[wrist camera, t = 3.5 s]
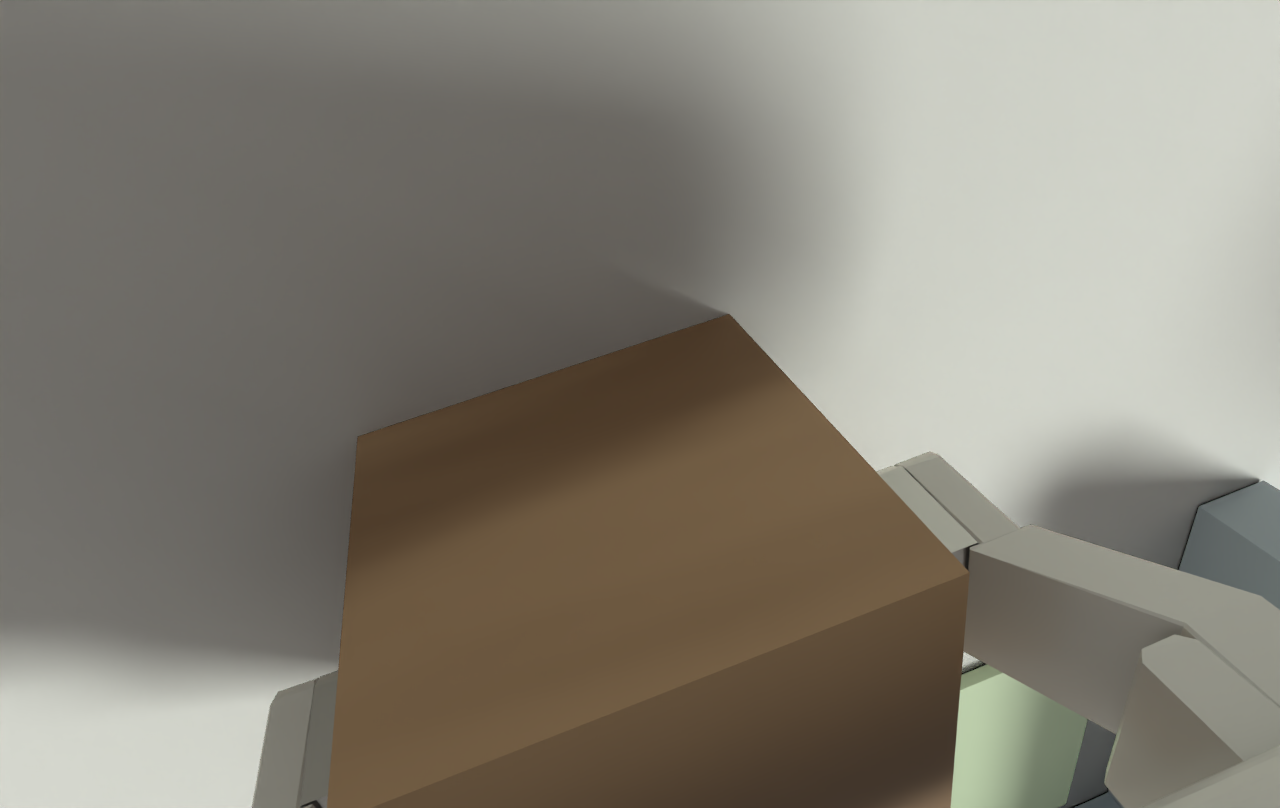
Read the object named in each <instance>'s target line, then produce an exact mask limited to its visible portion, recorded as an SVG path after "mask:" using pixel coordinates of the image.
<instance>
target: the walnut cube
mask: <svg viewBox="0 0 1280 808" xmlns="http://www.w3.org/2000/svg"><path fill="white" fill-rule="evenodd" d="M969 575H970V572H969V571H968V570H967V569H966V568H965V567H964V566H963V565H962V564H961V563H960V562H959V561H958V559H957V558H956V557H955V556H954V555H953V554H952V553H951V552H950V551H949V550H948V549H947V548H946V547H945V545H944V544H943V543H942V542H941V541H940V540H939V539H938V538H937V537H936V536H935V535H934V534H933V533H932V531H931V530H930V529H929V528H928V527H927V526H926V525H925V524H924V523H923V522H922V521H921V520H920V519H919V518H918V516H917V515H916V514H915V513H914V512H913V511H912V510H911V509H910V508H909V507H908V506H907V505H906V504H905V502H904V501H903V500H902V499H901V498H900V497H899V496H898V495H897V494H896V493H895V492H894V491H893V490H892V488H891V487H890V486H889V485H888V484H887V483H886V482H885V481H884V480H883V479H882V478H881V477H880V476H879V474H878V473H877V472H876V471H875V470H874V469H873V468H872V467H871V466H870V465H869V464H868V463H867V462H866V461H865V459H864V458H863V457H862V456H861V455H860V454H859V453H858V452H857V451H856V450H855V449H854V448H853V447H852V445H851V444H850V443H849V442H848V441H847V440H846V439H845V438H844V437H843V436H842V435H841V434H840V433H839V431H838V430H837V429H836V428H835V427H834V426H833V425H832V424H831V423H830V422H829V421H828V420H827V419H826V417H825V416H824V415H823V414H822V413H821V412H820V411H819V410H818V409H817V408H816V407H815V406H814V405H813V403H812V402H811V401H810V400H809V399H808V398H807V397H806V396H805V395H804V394H803V393H802V392H801V391H800V390H799V388H798V387H797V386H796V385H795V384H794V383H793V382H792V381H791V380H790V379H789V378H788V377H787V376H786V374H785V373H784V372H783V371H782V370H781V369H780V368H779V367H778V366H777V365H776V364H775V363H774V362H773V360H772V359H771V358H770V357H769V356H768V355H767V354H766V353H765V352H764V351H763V350H762V349H761V348H760V346H759V345H758V344H757V343H756V342H755V341H754V340H753V339H752V338H751V337H750V336H749V335H748V334H747V333H746V331H745V330H744V329H743V328H742V327H741V326H740V325H739V324H738V323H737V322H736V321H735V320H734V319H733V317H732V316H731V315H730V314H728V315H725V316H722V317H719V318H716V319H713V320H710V321H707V322H704V323H701V324H697V325H694V326H691V327H688V328H685V329H682V330H679V331H676V332H673V333H670V334H667V335H664V336H661V337H658V338H655V339H652V340H649V341H646V342H643V343H640V344H637V345H634V346H631V347H628V348H625V349H622V350H619V351H616V352H613V353H610V354H607V355H604V356H600V357H597V358H594V359H591V360H588V361H585V362H582V363H579V364H576V365H573V366H570V367H567V368H564V369H561V370H558V371H555V372H552V373H549V374H546V375H543V376H540V377H537V378H534V379H531V380H528V381H525V382H522V383H519V384H516V385H513V386H510V387H507V388H503V389H500V390H497V391H494V392H491V393H488V394H485V395H482V396H479V397H476V398H473V399H470V400H467V401H464V402H461V403H458V404H455V405H452V406H449V407H446V408H443V409H440V410H437V411H434V412H431V413H428V414H425V415H422V416H419V417H416V418H413V419H410V420H406V421H403V422H400V423H397V424H394V425H391V426H388V427H385V428H382V429H379V430H376V431H373V432H370V433H367V434H364V435H361V436H358V439H357V451H356V463H355V475H354V487H353V499H352V511H351V523H350V535H349V547H348V559H347V571H346V584H345V596H344V608H343V620H342V632H341V644H340V656H339V668H338V680H337V692H336V704H335V716H334V728H333V740H332V752H331V764H330V776H329V788H328V800H327V808H951V796H952V784H953V772H954V759H955V747H956V735H957V722H958V710H959V698H960V686H961V673H962V661H963V649H964V636H965V624H966V612H967V600H968V587H969Z"/></svg>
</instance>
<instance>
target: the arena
mask: <svg viewBox="0 0 1280 808" xmlns="http://www.w3.org/2000/svg"><path fill="white" fill-rule="evenodd" d="M1179 571H1183V572H1186V573H1189V574H1192V575H1195V576H1199V577H1202V578H1205V579H1208V580H1212V581H1215V582H1218V583H1221V584H1224V585H1228V586H1231V587H1234V588H1237V589H1240V590H1244V591H1247V592H1250V593H1253V594H1257V595H1260V596H1262V597H1263V598H1264V599H1266V600H1267V601H1268V602H1270V603H1271V604H1273V605H1274V606H1275V607H1277V608H1278V609H1279V610H1280V490H1278V489H1277V488H1275V487H1273V486H1272V485H1270V484H1268V483H1267V482H1265V481H1261V482H1259V483H1256V484H1254V485H1251V486H1249V487H1246V488H1244V489H1241V490H1239V491H1236V492H1234V493H1231V494H1229V495H1226V496H1224V497H1221V498H1219V499H1216V500H1213V501H1211V502H1208V503H1206V504H1203V505H1201V506H1199V508H1198V511H1197V514H1196V517H1195V520H1194V524H1193V527H1192V530H1191V533H1190V536H1189V539H1188V542H1187V546H1186V549H1185V552H1184V555H1183V558H1182V561H1181V564H1180V567H1179ZM1087 721H1088V719H1086V718H1085V717H1083V716H1081V715H1079V714H1077V713H1075V712H1074V711H1072V710H1070V709H1068V708H1066V707H1064V706H1063V705H1061V704H1059V703H1057V702H1055V701H1053V700H1052V699H1050V698H1048V697H1046V696H1044V695H1042V694H1041V693H1039V692H1037V691H1035V690H1033V689H1032V688H1030V687H1028V686H1026V685H1024V684H1022V683H1021V682H1019V681H1017V680H1015V679H1013V678H1011V677H1010V676H1008V675H1006V674H1004V673H1002V672H1000V671H999V670H997V669H995V668H993V667H991V666H989V665H988V664H987V665H984V666H982V667H980V668H977V669H975V670H972V671H970V672H967V673H965V674H962V675H961V686H960V698H959V710H958V722H957V735H956V747H955V759H954V772H953V784H952V796H951V808H1058V807H1060V806H1062V805H1065V804H1066V802H1067V799H1068V795H1069V791H1070V787H1071V783H1072V779H1073V775H1074V771H1075V768H1076V764H1077V760H1078V756H1079V752H1080V748H1081V744H1082V740H1083V737H1084V733H1085V729H1086V725H1087ZM1074 808H1124V807H1123V806H1122V804H1121V803H1120V802H1119V801H1118V800H1117V798H1116V797H1115V796H1114V795H1113V794H1112V793H1111V791H1110V790H1108V793H1106V794H1104V795H1102V796H1099V797H1097V798H1095V799H1093V800H1090V801H1088V802H1086V803H1083V804H1081V805H1079V806H1077V807H1074Z"/></svg>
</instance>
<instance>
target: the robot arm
mask: <svg viewBox="0 0 1280 808" xmlns="http://www.w3.org/2000/svg"><path fill="white" fill-rule="evenodd" d="M876 472H877V473H878V474H879V476H880V477H881V478H882V479H883V480H884V481H885V482H886V483H887V484H888V485H889V486H890V487H891V488H892V490H893V491H894V492H895V493H896V494H897V495H898V496H899V497H900V498H901V499H902V500H903V501H904V502H905V504H906V505H907V506H908V507H909V508H910V509H911V510H912V511H913V512H914V513H915V514H916V515H917V516H918V518H919V519H920V520H921V521H922V522H923V523H924V524H925V525H926V526H927V527H928V528H929V529H930V530H931V531H932V533H933V534H934V535H935V536H936V537H937V538H938V539H939V540H940V541H941V542H942V543H943V544H944V545H945V547H946V548H947V549H948V550H949V551H950V552H951V553H952V554H953V555H954V556H955V557H956V558H957V559H958V561H959V562H960V563H961V564H962V565H963V566H964V567H965V568H966V569H967V570H968V571H969V572H970V575H969V587H968V600H967V612H966V624H965V636H964V649H963V651H964V652H966V653H968V654H969V655H971V656H973V657H975V658H977V659H978V660H980V661H982V662H984V663H986V664H988V665H989V666H991V667H993V668H995V669H997V670H999V671H1000V672H1002V673H1004V674H1006V675H1008V676H1010V677H1011V678H1013V679H1015V680H1017V681H1019V682H1021V683H1022V684H1024V685H1026V686H1028V687H1030V688H1032V689H1033V690H1035V691H1037V692H1039V693H1041V694H1042V695H1044V696H1046V697H1048V698H1050V699H1052V700H1053V701H1055V702H1057V703H1059V704H1061V705H1063V706H1064V707H1066V708H1068V709H1070V710H1072V711H1074V712H1075V713H1077V714H1079V715H1081V716H1083V717H1085V718H1086V719H1088V720H1090V721H1092V722H1094V723H1096V724H1097V725H1099V726H1101V727H1103V728H1105V729H1106V730H1108V731H1110V732H1112V733H1114V734H1116V738H1115V741H1114V745H1113V748H1112V752H1111V755H1110V758H1109V762H1108V765H1107V769H1106V775H1105V782H1104V784H1105V785H1106V787H1107V788H1108V789H1109V790H1110V791H1111V793H1112V794H1113V795H1114V796H1115V797H1116V798H1117V800H1118V801H1119V802H1120V803H1121V804H1122V806H1123V807H1124V808H1280V610H1279V609H1278V608H1277V607H1275V606H1274V605H1273V604H1271V603H1270V602H1268V601H1267V600H1266V599H1264V598H1263V597H1262V596H1260V595H1257V594H1253V593H1250V592H1247V591H1244V590H1240V589H1237V588H1234V587H1231V586H1228V585H1224V584H1221V583H1218V582H1215V581H1212V580H1208V579H1205V578H1202V577H1199V576H1195V575H1192V574H1189V573H1186V572H1183V571H1179V570H1176V569H1173V568H1170V567H1166V566H1163V565H1160V564H1157V563H1154V562H1150V561H1147V560H1144V559H1141V558H1138V557H1134V556H1131V555H1128V554H1125V553H1121V552H1118V551H1115V550H1112V549H1109V548H1105V547H1102V546H1099V545H1096V544H1092V543H1089V542H1086V541H1083V540H1080V539H1076V538H1073V537H1070V536H1067V535H1064V534H1060V533H1057V532H1054V531H1051V530H1047V529H1044V528H1041V527H1038V526H1035V525H1031V524H1030V525H1027V526H1025V527H1022V528H1019V527H1018V526H1017V525H1016V524H1015V523H1014V522H1013V521H1012V520H1010V519H1009V518H1008V517H1007V516H1006V515H1005V514H1004V513H1003V512H1002V511H1000V510H999V509H998V508H997V507H996V506H995V505H994V504H993V503H992V502H990V501H989V500H988V499H987V498H986V497H985V496H984V495H983V494H982V493H981V492H979V491H978V490H977V489H976V488H975V487H974V486H973V485H972V484H971V483H969V482H968V481H967V480H966V479H965V478H964V477H963V476H962V475H961V474H959V473H958V472H957V471H956V470H955V469H954V468H953V467H952V466H951V465H949V464H948V463H947V462H946V461H945V460H944V459H943V458H942V457H941V456H940V455H938V454H936V453H933V452H930V451H929V452H927V453H924V454H922V455H919V456H916V457H914V458H911V459H908V460H906V461H903V462H900V463H898V464H895V465H894V466H890V467H887V468H884V469H882V470H879V471H876ZM337 680H338V671H335V672H332V673H329V674H326V675H323V676H320V678H317V679H314V680H311V681H308V682H305V683H302V684H299V685H296V686H293V687H291V688H288V689H285V690H282V691H279V692H278V693H277V695H276V696H275V698H274V700H273V701H272V703H271V705H270V708H269V714H268V720H267V725H266V731H265V736H264V742H263V747H262V753H261V759H260V764H259V770H258V775H257V781H256V786H255V792H254V798H253V803H252V808H327V800H328V788H329V776H330V764H331V752H332V740H333V728H334V716H335V704H336V692H337Z"/></svg>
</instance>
